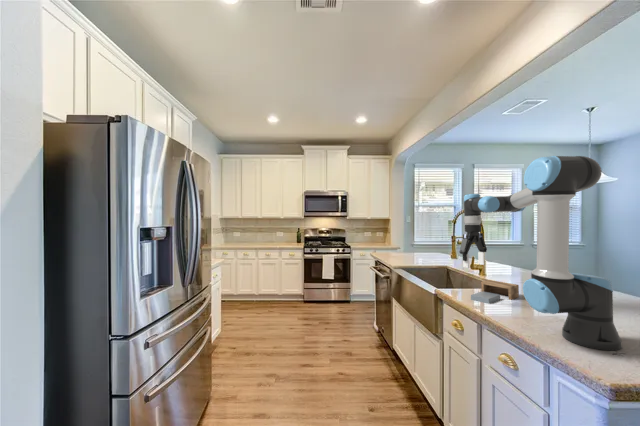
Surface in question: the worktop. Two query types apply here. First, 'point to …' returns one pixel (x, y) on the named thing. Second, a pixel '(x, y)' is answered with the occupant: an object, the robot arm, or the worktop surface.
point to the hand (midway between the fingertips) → (473, 265)
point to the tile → (485, 297)
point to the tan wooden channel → (501, 288)
